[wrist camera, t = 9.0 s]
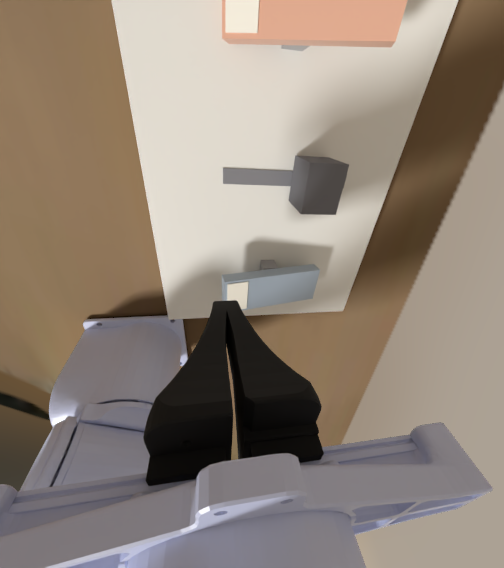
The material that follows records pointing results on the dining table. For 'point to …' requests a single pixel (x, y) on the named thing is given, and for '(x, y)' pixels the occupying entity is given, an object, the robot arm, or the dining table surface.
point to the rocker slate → (270, 286)
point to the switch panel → (264, 144)
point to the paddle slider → (317, 184)
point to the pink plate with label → (312, 22)
